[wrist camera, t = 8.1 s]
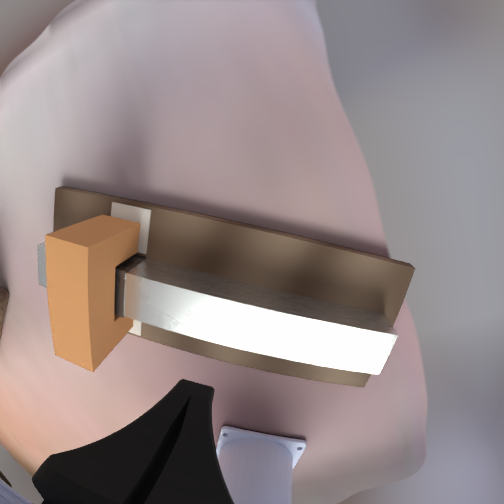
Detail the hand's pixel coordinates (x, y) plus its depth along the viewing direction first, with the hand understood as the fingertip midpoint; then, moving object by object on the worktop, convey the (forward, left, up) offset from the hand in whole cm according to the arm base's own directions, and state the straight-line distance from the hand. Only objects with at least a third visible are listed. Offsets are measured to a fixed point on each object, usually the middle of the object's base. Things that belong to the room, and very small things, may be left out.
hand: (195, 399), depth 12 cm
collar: (0, +8, -9) cm, 12 cm away
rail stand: (0, +2, -10) cm, 11 cm away
